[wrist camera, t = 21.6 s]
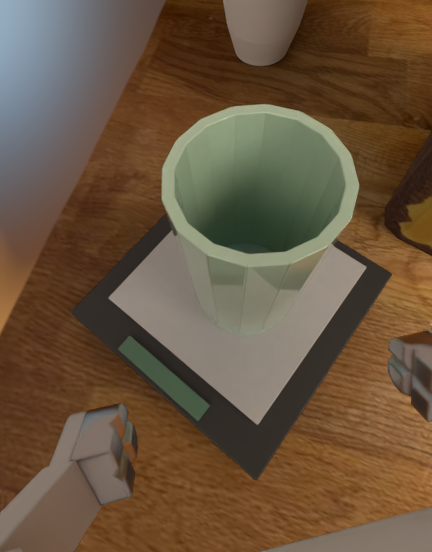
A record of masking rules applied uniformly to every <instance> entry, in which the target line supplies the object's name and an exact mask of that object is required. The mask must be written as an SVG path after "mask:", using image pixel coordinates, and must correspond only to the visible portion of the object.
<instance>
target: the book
mask: <svg viewBox="0 0 432 552" xmlns="http://www.w3.org/2000/svg"><path fill="white" fill-rule="evenodd" d="M385 225H386V226H387V227H388V228H389V229H390V230H391V231H392V232H393V233H394V234H395V235H396V236H397V237H398V238H399V239H401V240H403V241H405V242H407V243H409V244H411V245H413V246H414V247H416V248H418V249H420V250H422V251H424V252H426V253H428V254H430V255H432V131H431V133H430V134H429V136H428V138H427V139H426V141H425V143H424V144H423V146H422V148H421V149H420V151H419V153H418V154H417V156H416V158H415V159H414V161H413V163H412V164H411V166H410V168H409V169H408V171H407V173H406V174H405V176H404V178H403V179H402V181H401V183H400V184H399V186H398V188H397V189H396V191H395V193H394V194H393V196H392V198H391V199H390V201H389V203H388V204H387V206H386V208H385Z"/></svg>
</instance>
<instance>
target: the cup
mask: <svg viewBox="0 0 432 552" xmlns="http://www.w3.org/2000/svg"><path fill="white" fill-rule="evenodd" d="M307 2H308V0H223V3H224V9H225V15H226V21H227V26H228V29H229V33H230V36H231V39H232V43H233V46H234V49H235V53H236V55H237V56H238V58H239V59H240V60H242V61H243V62H245V63H247V64H250V65H254V66H267V65H271V64H274V63H276V62H278V61H280V60H281V59H282V58H283V57H284V56H285V55H286V53H287V51H288V49H289V46H290V44H291V42H292V40H293V38H294V36H295V34H296V32H297V30H298V28H299V25H300V23H301V20H302V17H303V14H304V11H305V8H306V5H307Z"/></svg>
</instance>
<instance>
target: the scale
mask: <svg viewBox="0 0 432 552" xmlns="http://www.w3.org/2000/svg"><path fill="white" fill-rule="evenodd" d="M391 276H392V274H391V273H390V272H388V271H387V270H385V269H383V268H382V267H380V266H379V265H377V264H375V263H374V262H372V261H371V260H369V259H367V258H366V257H364V256H362V255H361V254H359V253H358V252H356V251H354V250H353V249H351V248H349V247H348V246H346V245H345V244H343V243H341V242H340V241H338V240H337V242H336V243H335V245H334V246H333V248H332V249H331V251H330V252H329V254H328V255H327V256H326V258H325V259H324V261H323V262H322V264H321V265H320V267H319V268H318V270H317V271H316V273H315V274H314V276H313V277H312V279H311V280H310V282H309V283H308V285H307V286H306V288H305V289H304V291H303V292H302V294H301V295H300V297H299V298H298V300H297V301H296V303H295V304H294V306H293V307H292V309H291V310H290V311H289V312H288V313H287V315H286V316H285V317H284V318H283V320H282V321H281V322H280V323H278V324H277V325H276V326H274V327H273V328H271V329H269V330H267V331H265V332H262V333H258V334H253V335H239V334H234V333H230V332H227V331H225V330H223V329H221V328H219V327H217V326H216V325H215V324H214V323H212V322H211V321H210V320H209V319H208V318H207V317H206V315H205V314H204V313H203V311H202V309H201V307H200V305H199V302H198V300H197V298H196V296H195V293H194V290H193V288H192V285H191V282H190V279H189V276H188V274H187V271H186V268H185V265H184V262H183V259H182V257H181V254H180V251H179V248H178V245H177V243H176V240H175V237H174V234H173V231H172V228H171V226H170V223H169V220H168V217H167V214H165V215H164V216H163V217H162V218H161V219H160V220H159V221H158V222H157V223H156V224H155V225H154V226H153V227H152V228H151V229H150V230H149V231H148V232H147V233H146V235H145V236H144V237H143V238H142V239H141V240H140V241H139V242H138V243H137V244H136V245H135V246H134V247H133V248H132V249H131V250H130V251H129V252H128V253H127V254H126V255H125V256H124V257H123V258H122V259H121V260H120V261H119V263H118V264H117V265H116V266H115V267H114V268H113V269H112V270H111V271H110V272H109V273H108V274H107V275H106V276H105V277H104V278H103V279H102V280H101V281H100V282H99V283H98V284H97V285H96V286H95V287H94V288H93V289H92V290H91V292H90V293H89V294H88V295H87V296H86V297H85V298H84V299H83V300H82V301H81V302H80V303H79V304H78V305H77V306H76V307H75V308H74V309H73V310H72V311H71V314H73V315H74V316H75V317H76V318H77V319H78V320H79V321H80V322H81V323H82V324H84V325H85V326H86V327H87V328H88V329H89V330H90V331H91V332H92V333H93V334H95V335H96V336H97V337H98V338H99V339H100V340H101V341H102V342H103V343H104V344H106V345H107V346H108V347H109V348H110V349H111V350H112V351H113V352H114V353H116V354H117V355H118V356H119V357H120V358H121V359H122V360H123V361H124V362H125V363H127V364H128V365H129V366H130V367H131V368H132V369H133V370H134V371H135V372H136V373H138V374H139V375H140V376H141V377H142V378H143V379H144V380H145V381H146V382H147V383H149V384H150V385H151V386H152V387H153V388H154V389H155V390H156V391H157V392H158V393H160V394H161V395H162V396H163V397H164V398H165V399H166V400H167V401H168V402H169V403H171V404H172V405H173V406H174V407H175V408H176V409H177V410H178V411H179V412H180V413H182V414H183V415H184V416H185V417H186V418H187V419H188V420H189V421H190V422H191V423H193V424H194V425H195V426H196V427H197V428H198V429H199V430H200V431H201V432H202V433H204V434H205V435H206V436H207V437H208V438H209V439H210V440H211V441H212V442H213V443H215V444H216V445H217V446H218V447H219V448H220V449H221V450H222V451H223V452H224V453H226V454H227V455H228V456H229V457H230V458H231V459H232V460H233V461H234V462H235V463H237V464H238V465H239V466H240V467H241V468H242V469H243V470H244V471H245V472H247V473H248V474H249V475H250V476H251V477H252V478H253V479H254V480H257V479H258V478H259V476H260V475H261V473H262V472H263V470H264V469H265V467H266V466H267V464H268V463H269V461H270V460H271V458H272V457H273V455H274V454H275V452H276V451H277V449H278V448H279V446H280V444H281V443H282V441H283V440H284V438H285V437H286V435H287V434H288V432H289V431H290V429H291V428H292V426H293V425H294V423H295V422H296V420H297V419H298V417H299V416H300V414H301V413H302V411H303V409H304V408H305V406H306V405H307V403H308V402H309V400H310V399H311V397H312V396H313V394H314V393H315V391H316V390H317V388H318V387H319V385H320V384H321V382H322V381H323V379H324V378H325V376H326V374H327V373H328V371H329V370H330V368H331V367H332V365H333V364H334V362H335V361H336V359H337V358H338V356H339V355H340V353H341V352H342V350H343V349H344V347H345V346H346V344H347V343H348V341H349V339H350V338H351V336H352V335H353V333H354V332H355V330H356V329H357V327H358V326H359V324H360V323H361V321H362V320H363V318H364V317H365V315H366V314H367V312H368V311H369V309H370V308H371V306H372V304H373V303H374V301H375V300H376V298H377V297H378V295H379V294H380V292H381V291H382V289H383V288H384V286H385V285H386V283H387V282H388V280H389V279H390V277H391Z"/></svg>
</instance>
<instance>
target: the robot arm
mask: <svg viewBox="0 0 432 552" xmlns="http://www.w3.org/2000/svg"><path fill="white" fill-rule="evenodd" d="M389 351H390V352H391V353H392V354H393V355H392V357H391V358H390V360H389V361H388V372H389V375H390V378H391V380H392V382H393V383H394V385H395V386H396V388H397V389H398V390H399V391H400V392H401V393H403V394H405V395H408V396H410V397H411V404H412V405H413V406H414V408H415V409H416V410H417V411H418V412H419V413H420V414H421V415H422V416H423V417H424V418H425V420H426V421H427V422H432V328H431V329H427V330H423V331H420V332H416V333H412V334H408V335H404V336H400V337H396V338H392V339H391V340H390V342H389ZM127 418H128V411H127V408H126V406H125V404H123V403H120V404H115V405H111V406H106V407H101V408H97V409H92V410H88V411H84V412H80V413H75V414H71V415H70V416H69V417H68V418H67V421H66V423H65V426H64V428H63V431H62V434H61V436H60V439H59V441H58V444H57V447H56V449H55V452H54V454H53V457H52V460H51V462H50V465H49V467H45V468H43V469H42V470H41V471H40V472H39V473H38V474H37V475H36V476H35V477H34V478H33V479H32V480H31V481H30V482H29V483H28V484H27V485H26V486H25V488H24V489H23V490H22V491H21V492H20V493H19V494H18V495H17V496H16V497H15V498H14V499H13V500H12V501H11V502H10V503H9V504H8V505H7V506H6V507H5V508H4V509H3V510H2V511H1V512H0V552H75V550H76V548H77V547H78V545H79V543H80V542H81V540H82V538H83V537H84V535H85V533H86V532H87V530H88V528H89V527H90V525H91V523H92V522H93V520H94V518H95V517H96V515H97V513H98V512H99V510H100V508H101V505H104V504H108V503H111V502H115V501H118V500H122V499H125V498H129V497H132V494H133V486H134V478H135V471H134V469H133V466H132V463H133V462H134V461H135V459H136V458H137V450H138V445H137V435H136V431H135V428H134V425H133V423H131V422H130V421H128V420H127ZM259 552H432V506H430V507H426V508H423V509H419V510H415V511H411V512H407V513H404V514H400V515H396V516H392V517H388V518H384V519H381V520H377V521H373V522H369V523H365V524H362V525H358V526H354V527H350V528H346V529H343V530H339V531H335V532H331V533H327V534H324V535H320V536H316V537H312V538H309V539H305V540H301V541H297V542H293V543H290V544H286V545H282V546H278V547H274V548H271V549H267V550H263V551H259Z"/></svg>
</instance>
